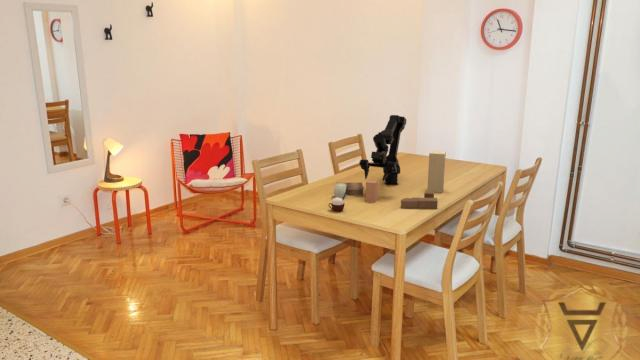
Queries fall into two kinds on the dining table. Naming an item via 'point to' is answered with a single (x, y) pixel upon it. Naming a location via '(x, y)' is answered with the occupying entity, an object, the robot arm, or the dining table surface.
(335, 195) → the grey green canister
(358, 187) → the walnut slab
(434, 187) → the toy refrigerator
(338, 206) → the cocoa
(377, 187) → the terracotta block
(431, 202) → the wooden block set
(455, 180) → the dining table surface
